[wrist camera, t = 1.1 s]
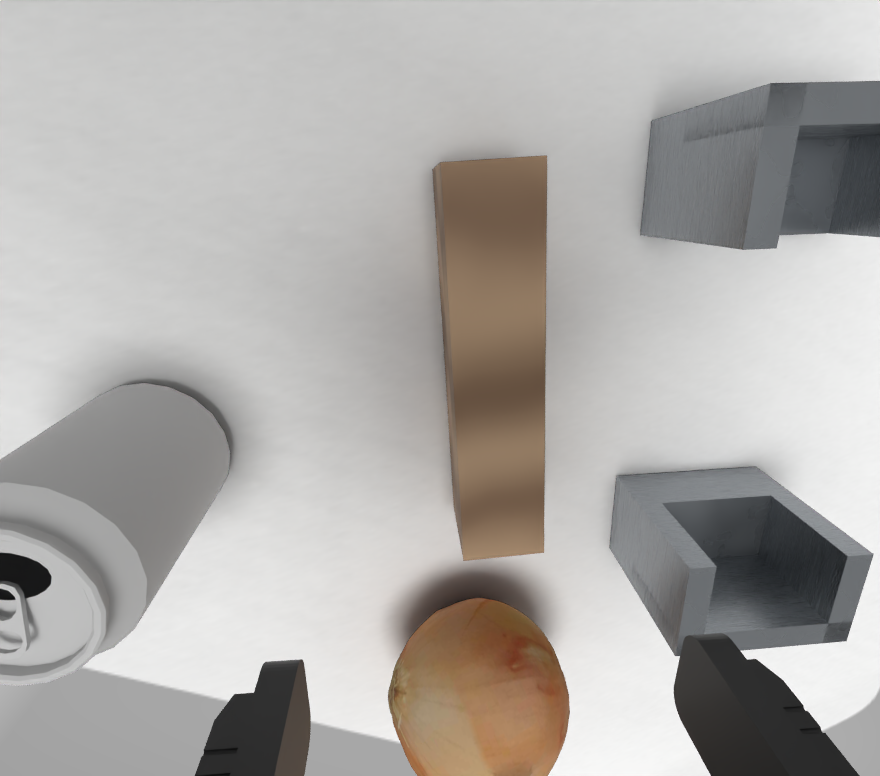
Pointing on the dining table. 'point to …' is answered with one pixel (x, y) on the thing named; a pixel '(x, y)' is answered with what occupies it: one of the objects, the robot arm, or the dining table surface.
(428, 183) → the dining table surface
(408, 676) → the onion
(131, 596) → the can
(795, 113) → the cup brackets
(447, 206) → the rail
